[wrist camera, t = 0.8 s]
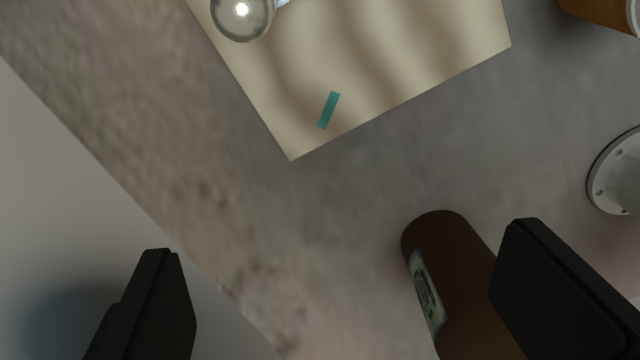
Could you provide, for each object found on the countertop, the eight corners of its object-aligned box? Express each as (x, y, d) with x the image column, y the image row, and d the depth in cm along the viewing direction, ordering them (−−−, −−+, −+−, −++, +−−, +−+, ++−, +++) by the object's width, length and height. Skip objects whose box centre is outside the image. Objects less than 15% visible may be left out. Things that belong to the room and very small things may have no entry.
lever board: (435, -240, 26) (451, -264, 23) (505, 44, 36) (522, 49, 33) (157, -48, 30) (144, -51, 27) (290, 157, 40) (290, 169, 38)
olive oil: (474, 197, 45) (649, 402, 23) (474, 259, 50) (616, 474, 28) (391, 215, 45) (486, 433, 23) (399, 275, 50) (483, 499, 29)
